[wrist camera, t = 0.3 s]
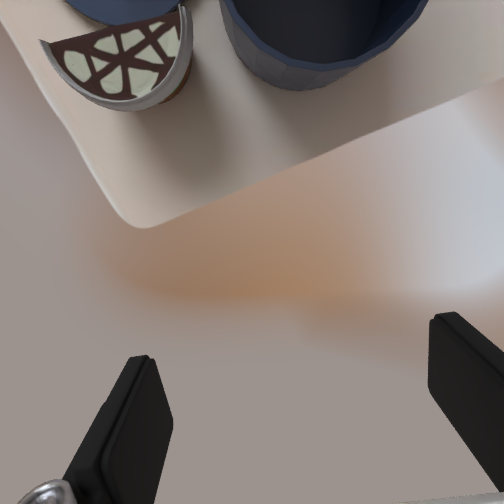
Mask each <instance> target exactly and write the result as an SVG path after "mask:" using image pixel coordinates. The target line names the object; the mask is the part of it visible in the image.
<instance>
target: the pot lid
mask: <svg viewBox="0 0 504 504" xmlns="http://www.w3.org/2000/svg"><path fill="white" fill-rule="evenodd" d="M66 1H67V2H68V3H69V4H70V5H71V6H72V7H74V8H75V9H76V10H78V11H79V12H81V13H82V14H84V15H85V16H87V17H89V18H91V19H93V20H95V21H97V22H100V23H103V24H105V25H109V26H115V25H120V24H126V23H131V22H136V21H140V20H145V19H149V18H153V17H158V16H162V15H165V14H167V13H170V12H172V11H173V10H175V9H176V8H177V7H178V6H179V5H178V4H181V2H182V1H183V0H66Z"/></svg>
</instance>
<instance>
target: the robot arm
mask: <svg viewBox="0 0 504 504" xmlns="http://www.w3.org/2000/svg"><path fill="white" fill-rule="evenodd" d="M428 356H429V357H428V388H429V391H430V394H431V395H432V397H433V398H434V400H435V401H436V403H437V404H438V405H439V407H440V408H441V410H442V411H443V413H444V414H445V415H446V417H447V418H448V420H449V421H450V422H451V424H452V425H453V427H454V428H455V430H456V431H457V432H458V434H459V435H460V437H461V438H462V439H463V441H464V442H465V444H466V445H467V447H468V448H469V449H470V451H471V452H472V453H473V455H474V456H475V458H476V459H477V461H478V462H479V464H480V465H481V466H482V468H483V469H484V471H485V472H486V473H487V475H488V476H489V478H490V479H491V481H492V482H493V483H494V485H495V486H496V488H497V489H498V490H499V492H498V493H487V494H477V495H468V496H459V497H450V498H441V499H432V500H423V501H414V502H405V503H396V504H504V352H502V350H500V349H499V348H498V347H497V346H496V345H494V344H493V343H492V342H491V341H490V340H488V339H487V338H486V337H485V336H484V335H483V334H481V333H480V332H479V331H478V330H477V329H476V328H474V327H473V326H472V325H471V324H470V323H468V322H467V321H466V320H465V319H464V318H463V317H461V316H460V315H459V314H458V313H456V312H448V313H440V314H436V315H435V316H434V319H431V320H430V323H429V355H428ZM172 431H173V417H172V414H171V411H170V407H169V404H168V401H167V398H166V394H165V391H164V388H163V385H162V382H161V379H160V375H159V372H158V369H157V366H156V362H155V360H154V359H150V358H149V356H148V355H142V356H135V357H130V358H129V359H128V361H127V363H126V365H125V367H124V369H123V370H122V372H121V374H120V376H119V378H118V380H117V381H116V383H115V385H114V387H113V389H112V391H111V393H110V395H109V396H108V398H107V400H106V402H105V403H104V404H103V405H102V406H101V408H100V410H99V412H98V414H97V416H96V418H95V419H94V421H93V423H92V425H91V427H90V428H89V430H88V432H87V434H86V436H85V438H84V439H83V441H82V443H81V445H80V447H79V449H78V450H77V452H76V454H75V456H74V458H73V460H72V461H71V463H70V465H69V467H68V469H67V471H66V473H65V475H64V476H63V478H62V479H54V480H51V481H48V482H44V483H43V484H41V485H39V486H37V487H35V488H34V489H33V490H31V491H30V492H29V493H27V494H26V495H25V496H24V497H23V498H22V499H21V500H20V501H19V502H18V503H17V504H154V500H155V497H156V493H157V489H158V485H159V481H160V477H161V473H162V469H163V466H164V461H165V458H166V454H167V450H168V446H169V442H170V438H171V434H172Z"/></svg>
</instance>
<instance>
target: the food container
mask: <svg viewBox="0 0 504 504" xmlns="http://www.w3.org/2000/svg"><path fill="white" fill-rule="evenodd" d="M178 5H179V11H176V12H170V13H167V14H165V15H162V16H158V17H153V18H149V19H145V20H140V21H136V22H131V23H126V24H120V25H115V26H111V27H107V28H104V29H101V30H98V31H95V32H91V33H88V34H85V35H81V36H77V37H73V38H69V39H65V40H61V41H57V42H54V43H49V42H46V41H43V40H40V39H38V40H39V42H40V45H41V47H42V49H43V51H44V53H45V55H46V56H47V58H48V60H49V61H50V63H51V65H52V66H53V67H54V69H55V70H56V71H57V73H58V74H59V75H60V76H61V78H62V79H64V80H65V81H66V82H67V83H68V84H69V85H70V86H71V87H72V88H73V89H75V90H76V91H77V92H79V93H80V94H81V95H83V96H84V97H85V98H87V99H88V100H90V101H92V102H94V103H96V104H97V105H100V106H102V107H105V108H108V109H112V110H117V111H138V110H143V109H146V108H149V107H152V106H154V105H156V104H161V103H164V102H167V101H169V100H170V99H172V98H174V97H175V96H176V95H177V94H178V93H179V92H180V91H181V90H182V88H183V87H184V85H185V83H186V81H187V79H188V76H189V73H190V69H191V53H192V46H193V23H192V17H191V11H189V10H188V9H187V8H186V7H185V6H183V7H181V5H180V4H178Z"/></svg>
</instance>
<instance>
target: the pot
mask: <svg viewBox="0 0 504 504" xmlns="http://www.w3.org/2000/svg"><path fill="white" fill-rule="evenodd" d="M428 1H429V0H219V2H220V7H221V11H222V16H223V21H224V25H225V29H226V32H227V34H228V36H229V39H230V41H231V43H232V45H233V47H234V49H235V51H236V54H237V55H238V57H239V58H240V59H241V60H242V62H243V63H244V64H245V65H246V66H247V68H248V69H250V70H251V71H252V72H253V74H255V75H256V76H258V77H259V78H260V79H262V80H263V81H265V82H267V83H269V84H271V85H273V86H275V87H279V88H282V89H287V90H295V91H304V90H312V89H316V88H321V87H324V86H326V85H328V84H330V83H332V82H333V81H335V80H337V79H339V78H341V77H343V76H344V75H346V74H348V73H349V72H351V71H353V70H354V69H356V68H358V67H359V66H361V65H362V64H364V63H366V62H367V61H369V60H371V59H372V58H374V57H375V56H377V55H379V54H380V53H382V52H384V51H385V50H387V49H388V48H390V47H391V46H392V45H393V44H394V43H395V42H396V41H397V40H398V39H399V38H400V37H401V36H402V35H403V34H404V33H405V32H406V31H407V30H408V29H409V28H410V27H411V26H412V25H413V23H414V22H415V21H416V20H417V19H418V18H419V16H420V15H421V13H422V11H423V9H424V8H425V6H426V4H427V2H428Z"/></svg>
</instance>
